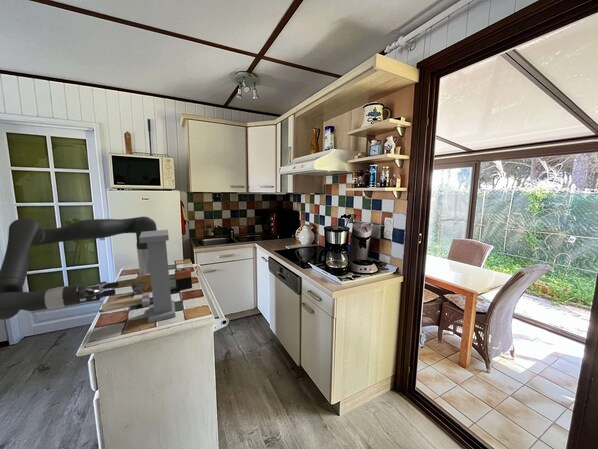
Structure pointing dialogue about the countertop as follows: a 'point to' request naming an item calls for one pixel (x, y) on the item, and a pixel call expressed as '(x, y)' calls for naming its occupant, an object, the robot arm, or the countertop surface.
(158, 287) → the shelf post
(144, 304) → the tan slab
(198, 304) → the countertop surface
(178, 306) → the countertop surface
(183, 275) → the battery
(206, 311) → the countertop surface
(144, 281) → the tin
